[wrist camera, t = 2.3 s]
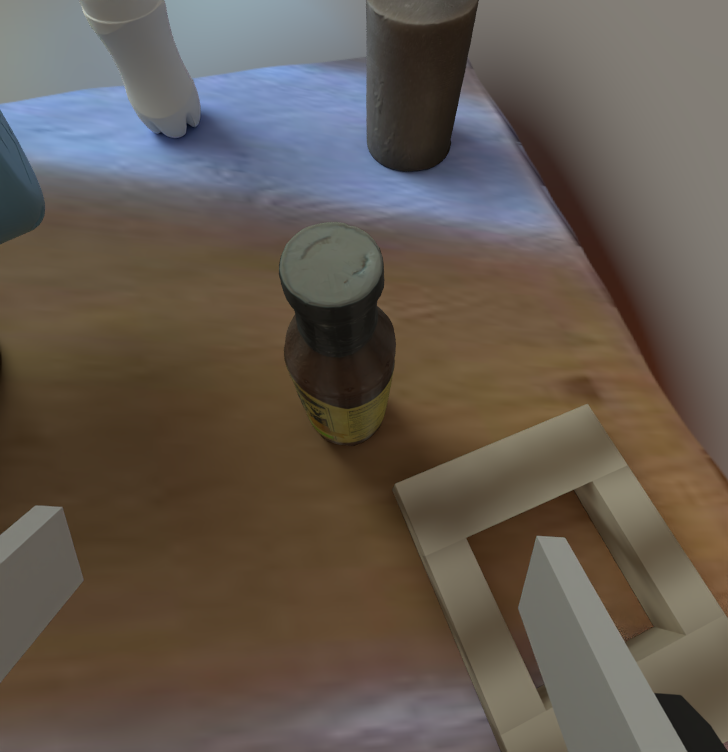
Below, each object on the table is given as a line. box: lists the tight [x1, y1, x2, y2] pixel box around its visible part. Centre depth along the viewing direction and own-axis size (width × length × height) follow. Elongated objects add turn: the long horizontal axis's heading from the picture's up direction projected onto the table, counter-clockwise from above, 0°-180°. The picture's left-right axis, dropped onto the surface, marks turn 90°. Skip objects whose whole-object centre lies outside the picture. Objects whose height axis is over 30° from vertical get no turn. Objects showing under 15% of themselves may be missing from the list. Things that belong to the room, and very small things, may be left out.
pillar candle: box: [366, 0, 479, 171], centre depth 40 cm, size 10×10×15 cm
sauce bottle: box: [279, 222, 396, 446], centre depth 24 cm, size 6×6×20 cm
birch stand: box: [392, 404, 728, 752], centre depth 27 cm, size 20×16×3 cm
